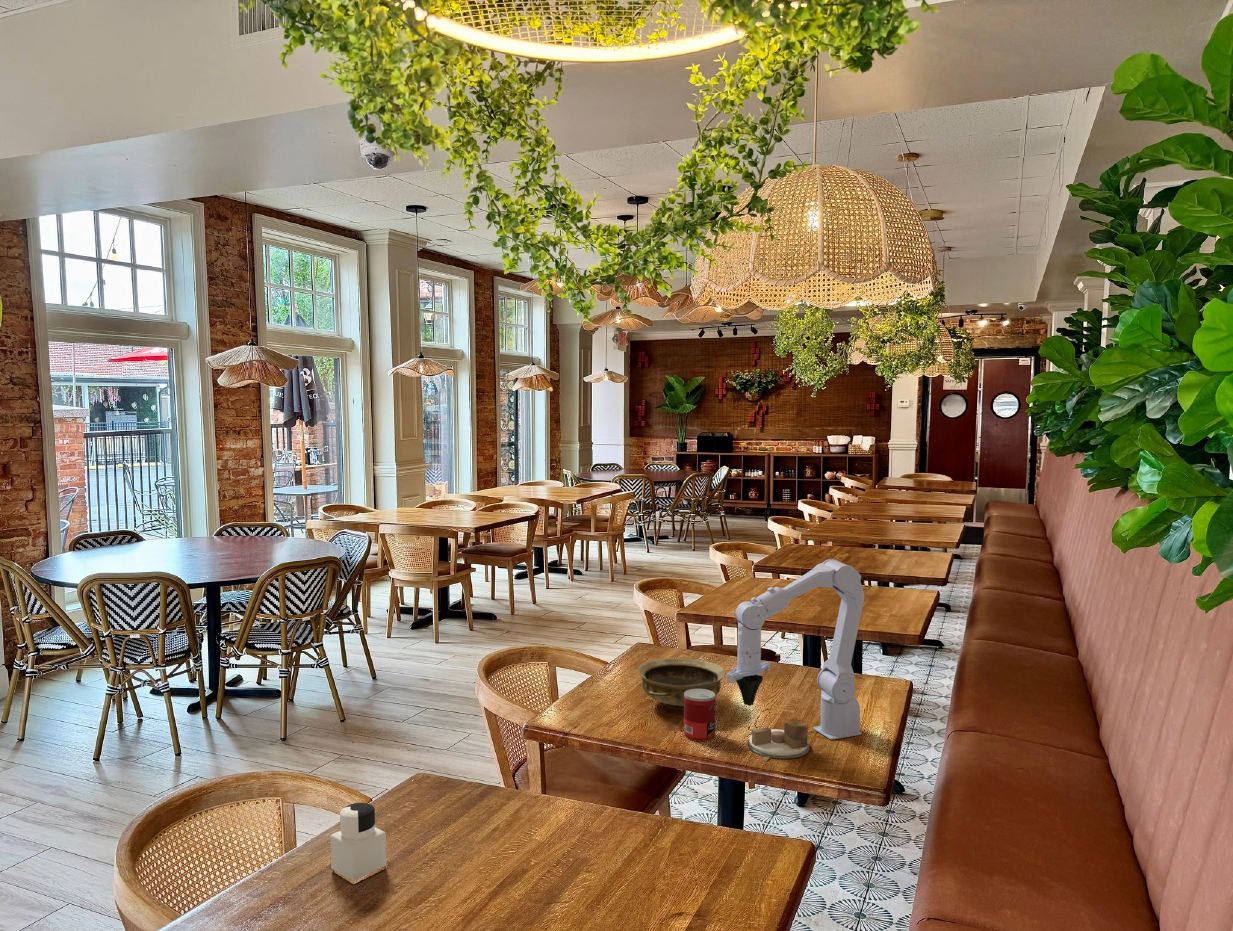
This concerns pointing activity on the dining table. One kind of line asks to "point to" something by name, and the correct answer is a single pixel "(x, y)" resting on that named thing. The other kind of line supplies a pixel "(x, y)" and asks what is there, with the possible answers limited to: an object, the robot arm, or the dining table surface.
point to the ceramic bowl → (678, 679)
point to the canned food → (699, 714)
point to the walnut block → (795, 734)
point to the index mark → (766, 758)
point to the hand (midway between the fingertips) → (748, 704)
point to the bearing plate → (778, 756)
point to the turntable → (772, 743)
